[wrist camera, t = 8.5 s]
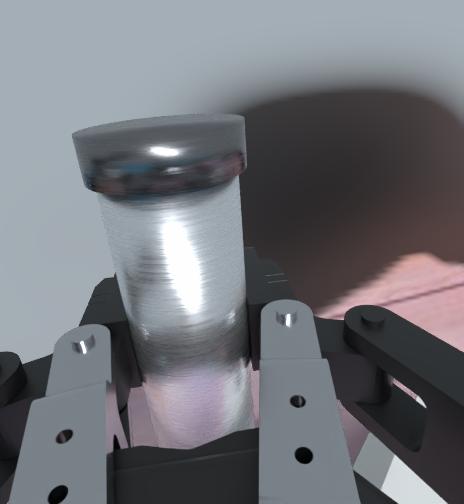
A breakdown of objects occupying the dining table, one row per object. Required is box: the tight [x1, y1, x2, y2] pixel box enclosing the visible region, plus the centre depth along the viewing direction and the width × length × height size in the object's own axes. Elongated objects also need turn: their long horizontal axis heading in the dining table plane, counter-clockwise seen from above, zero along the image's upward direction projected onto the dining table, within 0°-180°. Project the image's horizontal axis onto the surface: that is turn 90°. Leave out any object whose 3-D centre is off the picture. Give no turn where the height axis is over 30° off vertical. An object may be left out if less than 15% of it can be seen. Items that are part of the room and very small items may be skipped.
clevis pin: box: [72, 114, 255, 449], centre depth 11 cm, size 4×4×12 cm
